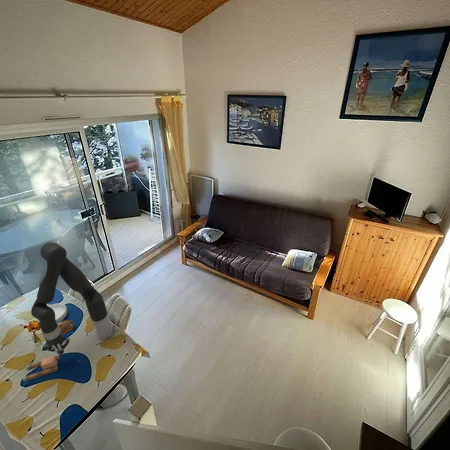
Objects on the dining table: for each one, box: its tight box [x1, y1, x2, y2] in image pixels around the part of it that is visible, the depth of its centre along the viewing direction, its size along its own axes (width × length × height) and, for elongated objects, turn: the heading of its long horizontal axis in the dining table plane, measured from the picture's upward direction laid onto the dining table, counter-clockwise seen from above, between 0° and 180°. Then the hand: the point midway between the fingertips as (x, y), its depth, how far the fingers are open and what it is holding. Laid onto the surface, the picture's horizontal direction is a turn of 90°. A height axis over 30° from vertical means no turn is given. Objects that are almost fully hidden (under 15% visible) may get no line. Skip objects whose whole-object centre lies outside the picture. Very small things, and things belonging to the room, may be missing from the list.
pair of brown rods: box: [22, 355, 61, 383], centre depth 140 cm, size 16×9×2 cm, turn 113°
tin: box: [57, 319, 75, 336], centre depth 159 cm, size 15×3×8 cm, turn 126°
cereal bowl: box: [37, 302, 68, 324], centre depth 168 cm, size 17×17×7 cm
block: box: [40, 355, 59, 371], centre depth 140 cm, size 6×4×6 cm, turn 113°
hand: (61, 353), depth 140 cm, fingers closed
